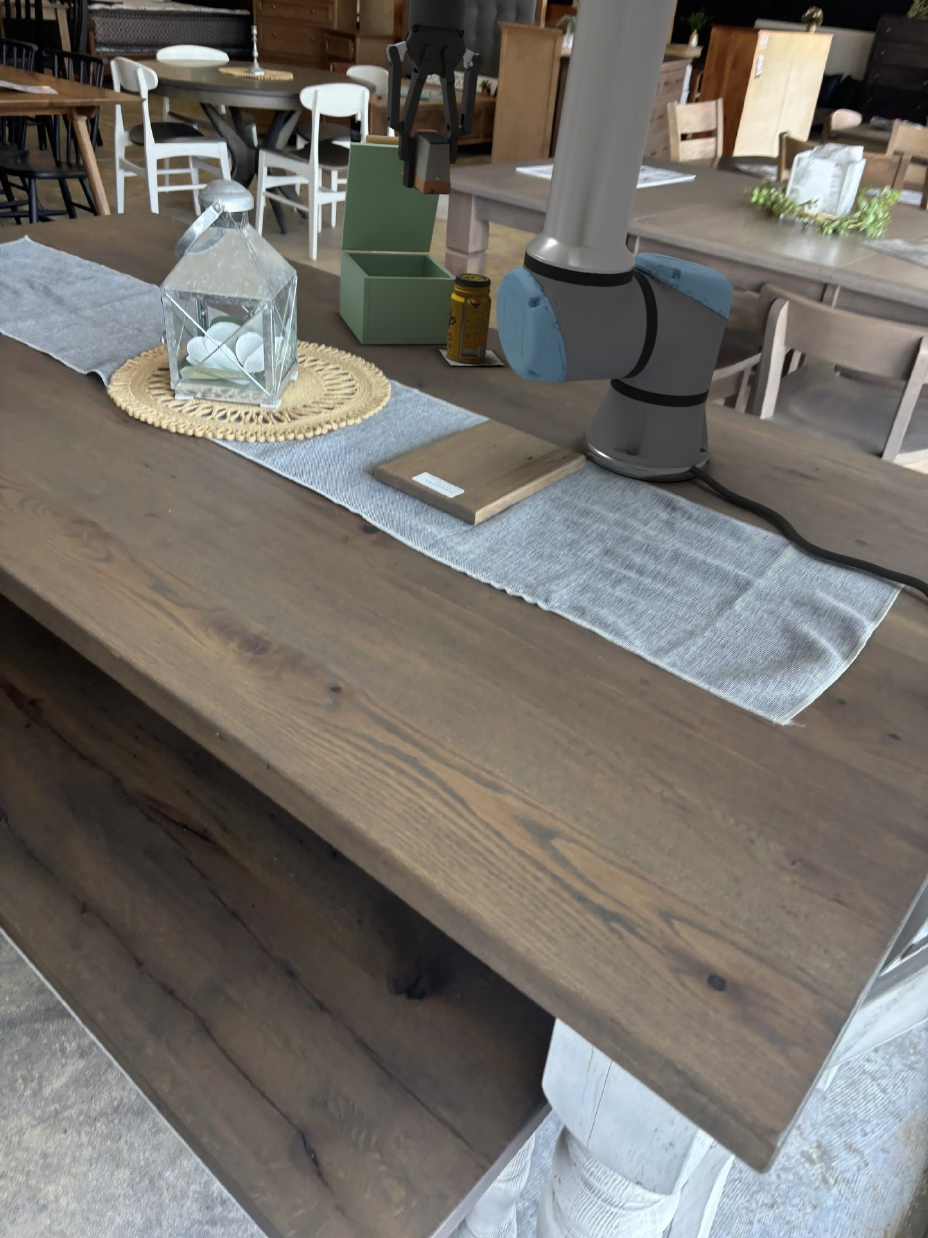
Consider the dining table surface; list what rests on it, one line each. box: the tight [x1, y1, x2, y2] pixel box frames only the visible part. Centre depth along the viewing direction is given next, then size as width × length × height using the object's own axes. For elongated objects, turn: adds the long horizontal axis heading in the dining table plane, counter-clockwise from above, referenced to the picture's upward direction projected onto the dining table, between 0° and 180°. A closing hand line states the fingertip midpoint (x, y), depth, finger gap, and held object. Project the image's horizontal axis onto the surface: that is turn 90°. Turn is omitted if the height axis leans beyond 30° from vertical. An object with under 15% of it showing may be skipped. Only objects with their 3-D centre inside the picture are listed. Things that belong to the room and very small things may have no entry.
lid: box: [340, 134, 440, 254], centre depth 144 cm, size 17×15×9 cm
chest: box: [339, 251, 456, 345], centre depth 145 cm, size 16×15×10 cm
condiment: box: [438, 272, 505, 367], centre depth 135 cm, size 7×8×12 cm
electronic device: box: [401, 128, 452, 196], centre depth 130 cm, size 4×10×8 cm, turn 23°
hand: (425, 186), depth 132 cm, fingers closed on electronic device, 5 cm apart
